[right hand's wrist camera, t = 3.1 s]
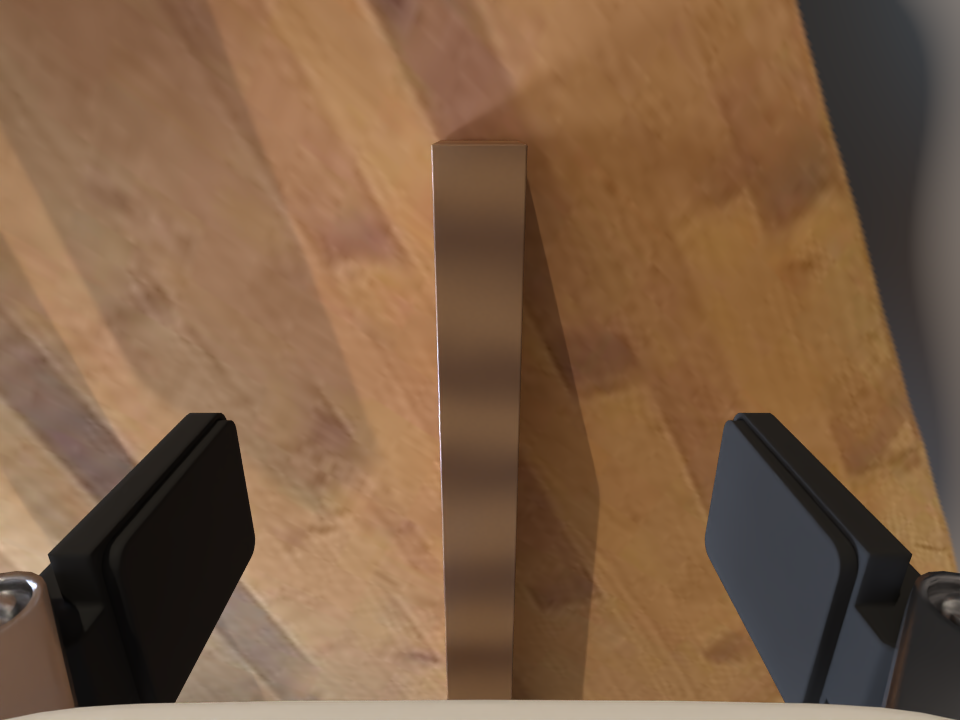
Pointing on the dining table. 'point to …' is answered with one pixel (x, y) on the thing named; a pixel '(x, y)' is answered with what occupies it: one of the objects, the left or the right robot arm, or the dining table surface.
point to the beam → (479, 401)
